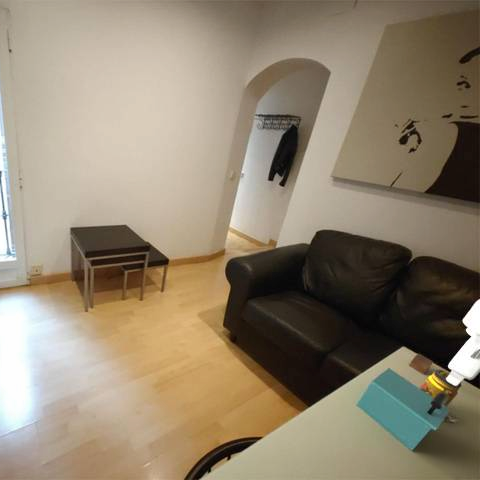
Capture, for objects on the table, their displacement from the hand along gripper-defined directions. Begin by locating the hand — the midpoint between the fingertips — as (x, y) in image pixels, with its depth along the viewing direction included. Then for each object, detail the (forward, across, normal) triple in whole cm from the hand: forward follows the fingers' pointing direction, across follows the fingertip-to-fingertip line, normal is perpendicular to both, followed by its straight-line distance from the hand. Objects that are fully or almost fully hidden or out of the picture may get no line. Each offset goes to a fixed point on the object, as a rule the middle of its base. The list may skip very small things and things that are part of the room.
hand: (457, 374), depth 59 cm
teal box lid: (+13, 0, +4) cm, 13 cm away
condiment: (+22, +16, 0) cm, 27 cm away
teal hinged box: (+21, 0, +4) cm, 22 cm away
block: (+22, +34, +8) cm, 41 cm away
